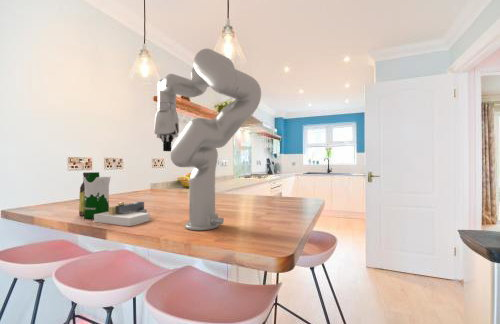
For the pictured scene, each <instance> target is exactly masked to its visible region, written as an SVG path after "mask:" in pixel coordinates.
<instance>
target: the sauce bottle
mask: <svg viewBox="0 0 500 324" xmlns="http://www.w3.org/2000/svg"><path fill="white" fill-rule="evenodd" d="M89 173H91V172H90V171H89V172H88V171H87V172H83V173H82V176H83V177H89V176H88V175H89ZM82 181H83V180H82ZM78 197H79V199H78V200H79V201H78V211H79V212H78V215H79V216H84V211H85V185H84V181H83V182H82V183H81V184H80V187H79V196H78Z"/></svg>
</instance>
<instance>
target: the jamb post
mask: <svg viewBox="0 0 500 324" xmlns="http://www.w3.org/2000/svg"><path fill="white" fill-rule="evenodd" d="M130 212H141V213H148V212H147V209H145V208H144V209H142V210H134V211H130Z"/></svg>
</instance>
